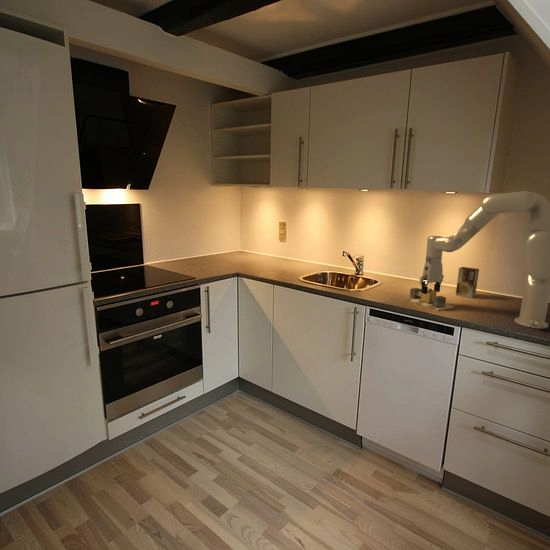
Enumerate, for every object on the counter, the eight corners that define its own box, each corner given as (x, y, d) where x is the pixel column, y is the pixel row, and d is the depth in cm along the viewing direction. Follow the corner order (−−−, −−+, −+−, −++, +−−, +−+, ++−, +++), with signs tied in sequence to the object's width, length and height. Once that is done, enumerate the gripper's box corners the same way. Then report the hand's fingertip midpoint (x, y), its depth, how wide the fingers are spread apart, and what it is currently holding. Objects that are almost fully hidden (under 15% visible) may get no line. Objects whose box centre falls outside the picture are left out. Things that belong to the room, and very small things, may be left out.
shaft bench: (452, 307, 187) (453, 296, 185) (437, 310, 182) (439, 299, 180) (418, 297, 205) (420, 287, 203) (404, 299, 200) (406, 289, 198)
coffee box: (475, 296, 210) (479, 268, 207) (471, 298, 206) (476, 270, 203) (459, 293, 217) (462, 266, 213) (455, 294, 212) (458, 267, 209)
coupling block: (435, 302, 192) (437, 289, 190) (428, 303, 190) (430, 290, 188) (427, 299, 196) (429, 287, 195) (421, 300, 194) (422, 288, 192)
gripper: (428, 262, 181) (425, 296, 184) (451, 260, 189) (447, 292, 192) (415, 260, 187) (413, 292, 191) (438, 257, 195) (435, 289, 199)
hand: (430, 292), depth 191 cm, fingers open, 9 cm apart
